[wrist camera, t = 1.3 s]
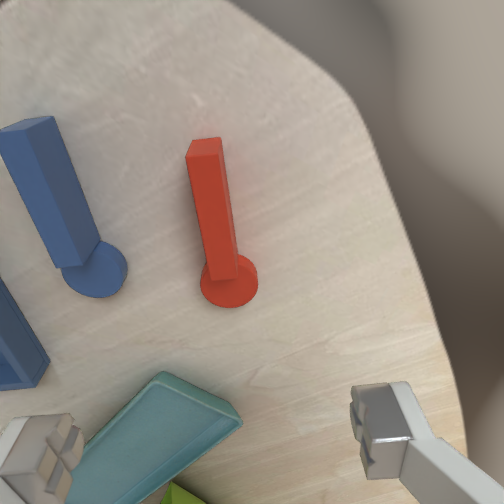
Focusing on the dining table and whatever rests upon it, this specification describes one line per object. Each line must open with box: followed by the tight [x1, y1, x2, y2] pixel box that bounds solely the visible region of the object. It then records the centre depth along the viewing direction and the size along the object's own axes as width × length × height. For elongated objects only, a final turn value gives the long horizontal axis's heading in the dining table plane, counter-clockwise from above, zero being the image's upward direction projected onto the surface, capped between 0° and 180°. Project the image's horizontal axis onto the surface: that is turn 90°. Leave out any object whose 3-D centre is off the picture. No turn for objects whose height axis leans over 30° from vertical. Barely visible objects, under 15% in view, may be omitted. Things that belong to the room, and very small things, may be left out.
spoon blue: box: [0, 116, 128, 298], centre depth 20 cm, size 11×4×3 cm, turn 6°
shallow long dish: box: [64, 372, 243, 504], centre depth 34 cm, size 26×9×2 cm, turn 140°
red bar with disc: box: [185, 137, 258, 308], centre depth 21 cm, size 11×4×3 cm, turn 6°
